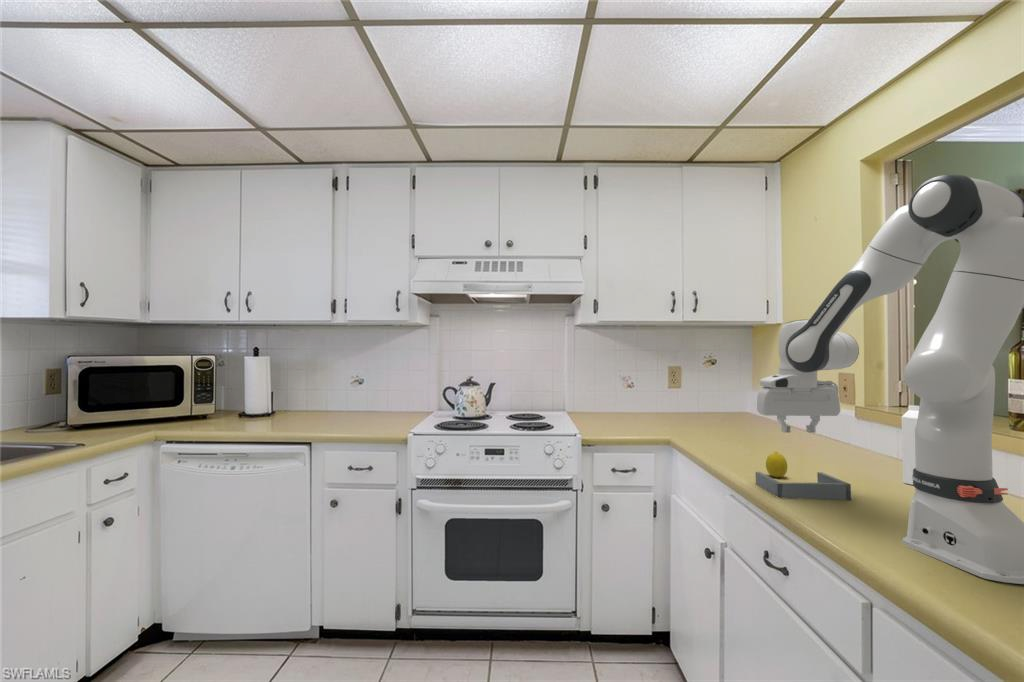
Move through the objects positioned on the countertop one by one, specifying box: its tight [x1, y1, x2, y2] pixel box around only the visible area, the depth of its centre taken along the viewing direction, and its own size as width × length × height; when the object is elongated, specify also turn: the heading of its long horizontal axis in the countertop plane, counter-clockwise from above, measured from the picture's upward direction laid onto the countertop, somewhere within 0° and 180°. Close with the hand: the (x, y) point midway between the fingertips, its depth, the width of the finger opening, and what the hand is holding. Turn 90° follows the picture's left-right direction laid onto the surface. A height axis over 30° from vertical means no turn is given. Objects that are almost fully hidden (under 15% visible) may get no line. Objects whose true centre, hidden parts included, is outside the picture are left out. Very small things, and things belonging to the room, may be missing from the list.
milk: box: [901, 404, 920, 486], centre depth 133 cm, size 6×6×22 cm
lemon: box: [765, 451, 788, 479], centre depth 139 cm, size 6×6×8 cm
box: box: [755, 471, 852, 501], centre depth 126 cm, size 12×18×4 cm, turn 87°
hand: (798, 432), depth 127 cm, fingers open, 5 cm apart
